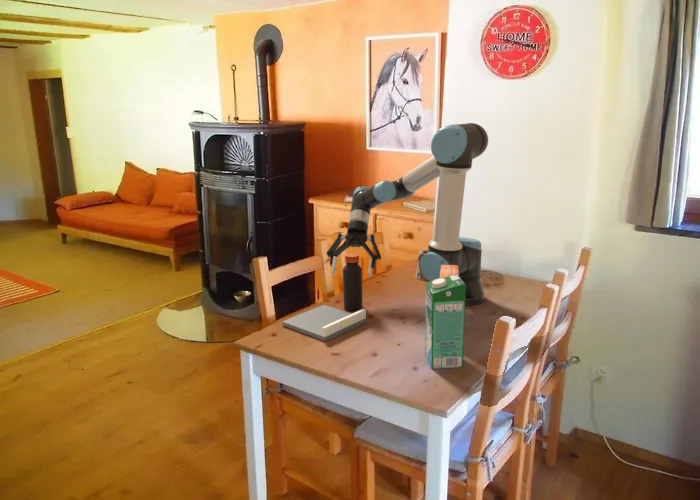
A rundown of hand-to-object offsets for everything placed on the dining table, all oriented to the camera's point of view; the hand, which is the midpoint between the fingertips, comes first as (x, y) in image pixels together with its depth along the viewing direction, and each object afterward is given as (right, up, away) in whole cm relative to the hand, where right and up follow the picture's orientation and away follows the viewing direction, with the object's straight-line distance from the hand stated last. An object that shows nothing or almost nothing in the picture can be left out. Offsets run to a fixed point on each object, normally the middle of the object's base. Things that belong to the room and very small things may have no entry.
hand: (350, 274), depth 205 cm
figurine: (+31, -3, +33) cm, 45 cm away
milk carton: (+27, -23, -41) cm, 54 cm away
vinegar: (+1, -12, 0) cm, 12 cm away
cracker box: (+31, -18, -22) cm, 42 cm away
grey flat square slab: (-9, -16, -13) cm, 23 cm away
